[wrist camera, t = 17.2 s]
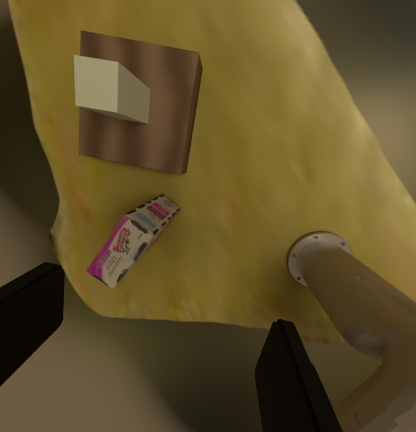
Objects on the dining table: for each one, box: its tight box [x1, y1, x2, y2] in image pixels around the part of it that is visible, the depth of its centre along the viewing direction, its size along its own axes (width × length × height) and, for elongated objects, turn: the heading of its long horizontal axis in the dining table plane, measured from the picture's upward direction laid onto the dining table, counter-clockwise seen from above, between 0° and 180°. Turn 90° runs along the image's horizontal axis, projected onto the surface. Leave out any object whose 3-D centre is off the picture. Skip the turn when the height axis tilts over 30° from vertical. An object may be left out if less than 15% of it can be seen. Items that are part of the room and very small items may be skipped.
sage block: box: [74, 55, 151, 124], centre depth 28 cm, size 5×5×10 cm
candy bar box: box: [86, 194, 180, 289], centre depth 35 cm, size 11×5×16 cm, turn 142°
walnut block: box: [79, 30, 203, 175], centre depth 35 cm, size 18×18×6 cm
